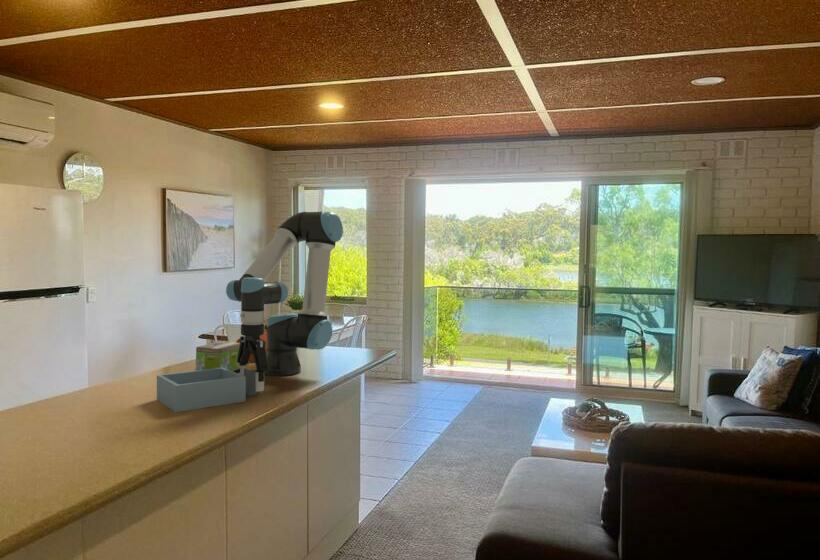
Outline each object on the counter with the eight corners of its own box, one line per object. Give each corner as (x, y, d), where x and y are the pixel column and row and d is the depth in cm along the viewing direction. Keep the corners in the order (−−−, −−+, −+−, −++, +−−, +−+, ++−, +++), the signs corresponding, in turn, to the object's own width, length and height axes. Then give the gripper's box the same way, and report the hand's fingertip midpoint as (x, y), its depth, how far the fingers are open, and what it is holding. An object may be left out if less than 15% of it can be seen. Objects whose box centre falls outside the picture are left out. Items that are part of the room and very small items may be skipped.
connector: (254, 391, 204) (255, 363, 203) (260, 394, 201) (260, 364, 200) (243, 393, 201) (244, 364, 200) (248, 395, 198) (249, 366, 197)
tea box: (220, 390, 204) (220, 348, 203) (194, 388, 206) (194, 346, 205) (242, 381, 219) (242, 341, 218) (217, 379, 221) (217, 340, 220)
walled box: (222, 390, 205) (223, 367, 204) (245, 401, 191) (245, 376, 190) (156, 399, 190) (156, 375, 190) (176, 412, 177) (176, 385, 176)
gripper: (227, 320, 206) (227, 382, 207) (257, 328, 188) (257, 396, 189) (247, 319, 211) (247, 379, 212) (279, 326, 193) (278, 392, 194)
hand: (251, 387), depth 201 cm, fingers open, 11 cm apart
